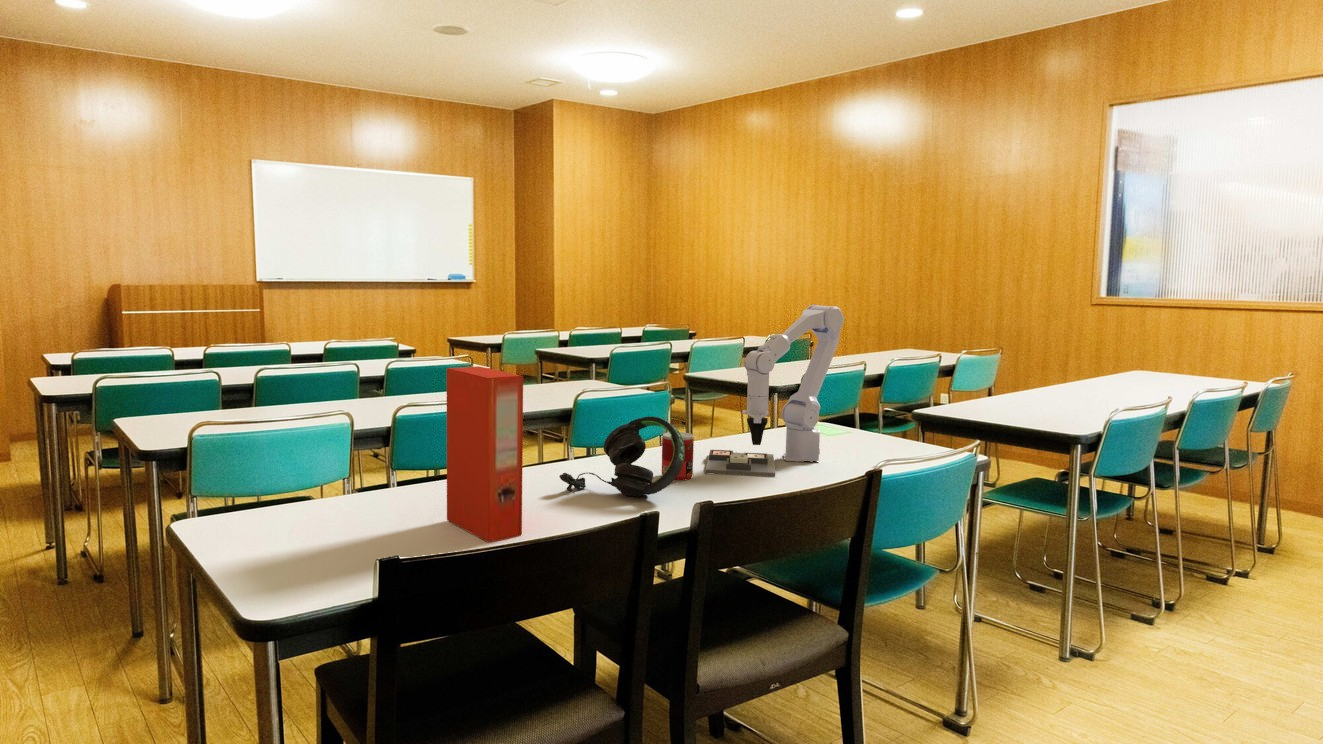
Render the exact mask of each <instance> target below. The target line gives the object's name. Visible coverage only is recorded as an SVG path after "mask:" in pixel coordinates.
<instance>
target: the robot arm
mask: <svg viewBox="0 0 1323 744" xmlns="http://www.w3.org/2000/svg"><path fill="white" fill-rule="evenodd" d="M844 322H845V318H844V315H843V312H842V310H841V308H840V307H838V306H836V305H830V306H828V305H817V304H811V305H809V306H808V307H807V308H806V309H804V310H803V311H802V313H801V316H800V317H798V318H797V320H795V321H794V322H793V323H792V324H791V325H790V326H789V327H788V328H787V329H786V330H785V331H784V332H783V333H781V334H780V333H776V334H771V335H770V336H769V338H770V339H768V340H767V341H765V343H763V344H762V345H759V346H758V348H757V350H751V351H749V353H748V354H747V355H746V356H745V360H743V366H744V368H745V370H746V376H747V391H746V392H747V394H746V396H747V397H746V399H747V400H746V401H747V402H746V410H745V409H743V410H742V414H743V415H748V416H749V417H747V418H746V423H747V425H748V427H749V430H750V437H751V443H752V446H761V444H762V441H763V435H764V432H765V428H766V426H767V425H768V422H769V420H768V417H767V416H769V414H770V411H769V397H770V395H769V392H770V390H769V389H770V373H771V372H772V371H773V370H774V368H775V364H776V363H777V361H778V360H779V359H780V358H782V357H783V356H784V355H785V354H786V353H787V352H789V351H790V349H791V344H792V343H794V342H795V341H797V339H799V338H800V337H801V336H803V335H804V334H806V333H807V332H808V331H810V330H811V331H812V333H813V334H814V336H815V337H816V339H817V342H816V346H815V348H814V350H813V353H812V356H811V359H810V361H809V363H808V366H807V368H806V371H805V374H804V376H803V378H802V381H801V384H800V386H799V388H798V391H797V392H795V393H793V394H792V395H790V396H789V397H788V398H789V399H788V401H787V402H786V403H785V404H784V405H783V406H782V409H781V419H782V421H783V422H784V426H785V427H786V429H785V430H786V431H785V453H783V460H784V461H786V462H804V461H810V462H809V463H814V462H813V461H816V462H815V463H818V462H817V461H819V462H820V452H821V451H820V450H821V449H820V442H821V441H820V437H821V434H820V432H821V431H820V429H819V428H815V426H817V424H818V422H819V418H820V410H821V405H820V403H819V401H818V396H819V394H820V391H821V388H822V387H823V383H824V381H825V378H826V375H827V374H828V373H827V372H829V368H830V365H831V363H832V360H833V358H834V355H835V353H836V350H837V348H838V345H839V343H840V336H841V330H842V328H843V325H844Z"/></svg>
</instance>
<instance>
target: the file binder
mask: <svg viewBox="0 0 1323 744" xmlns="http://www.w3.org/2000/svg"><path fill="white" fill-rule="evenodd" d="M523 421H524V375H520V374H515V373H511V372H507V371H502V370H497V369H494V368H493V369H492V368H490V367H489V368H488V367H483V366H480V365H479V366H466V367H463V366H461V367H447V368H446V520H447V521H448V522H450V523H451V524H454V525H456V526H457V527H459V528H461V529H462V530H465V531H467V532H468V533H470V534H471V535H474V536H476V537H477V538H479V539H481V540H482V541H484V542H488V543H493V542H498V541H500V540H507V539H513V538H517V537H521V536H522V533H523V460H524V459H523V447H524V446H523V444H524V443H523V442H524V441H523V440H524V437H523V436H524V433H523V432H524V430H523V429H524V424H523V423H524V422H523Z"/></svg>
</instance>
